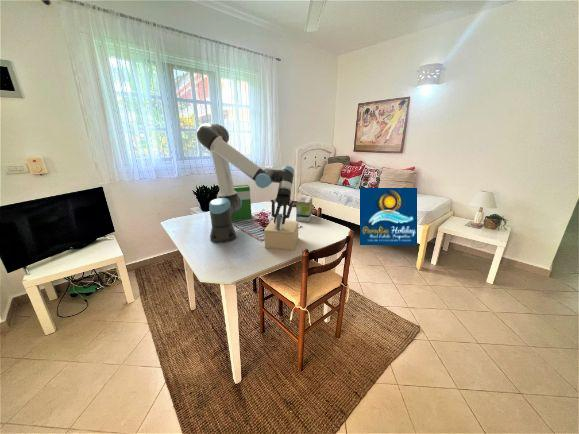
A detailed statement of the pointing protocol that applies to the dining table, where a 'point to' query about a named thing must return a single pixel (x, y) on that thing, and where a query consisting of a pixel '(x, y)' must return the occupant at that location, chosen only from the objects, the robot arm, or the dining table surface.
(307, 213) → the tea box
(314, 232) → the dining table surface
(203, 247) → the dining table surface
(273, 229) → the carton lid
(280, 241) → the carton
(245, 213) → the green cereal box
